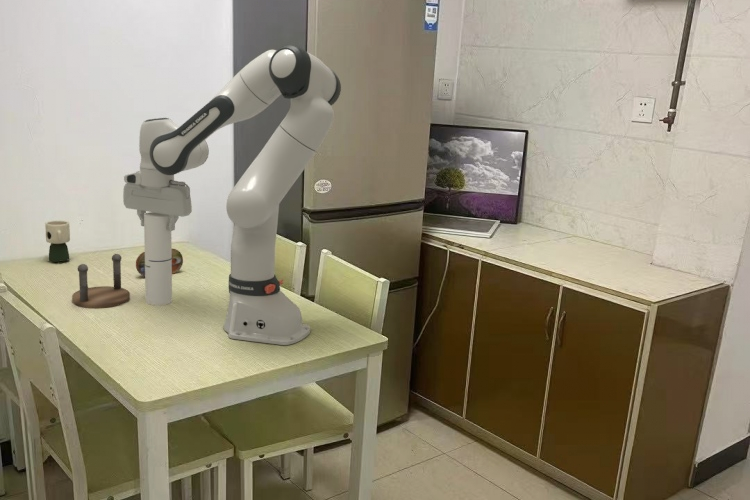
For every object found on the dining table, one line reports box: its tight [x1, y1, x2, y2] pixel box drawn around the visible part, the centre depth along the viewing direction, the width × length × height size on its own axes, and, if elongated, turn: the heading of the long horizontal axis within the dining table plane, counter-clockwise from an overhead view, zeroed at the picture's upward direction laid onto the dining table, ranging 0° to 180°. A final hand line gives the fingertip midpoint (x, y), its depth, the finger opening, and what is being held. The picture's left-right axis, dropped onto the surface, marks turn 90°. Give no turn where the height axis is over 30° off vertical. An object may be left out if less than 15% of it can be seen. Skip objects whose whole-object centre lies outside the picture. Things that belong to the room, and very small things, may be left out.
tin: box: [135, 248, 184, 278], centre depth 219 cm, size 15×3×8 cm, turn 133°
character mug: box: [44, 220, 71, 263], centre depth 225 cm, size 11×7×13 cm, turn 30°
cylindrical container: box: [143, 211, 173, 306], centre depth 192 cm, size 7×7×25 cm
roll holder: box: [71, 253, 131, 309], centre depth 192 cm, size 15×16×12 cm
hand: (157, 228), depth 190 cm, fingers closed on cylindrical container, 7 cm apart
